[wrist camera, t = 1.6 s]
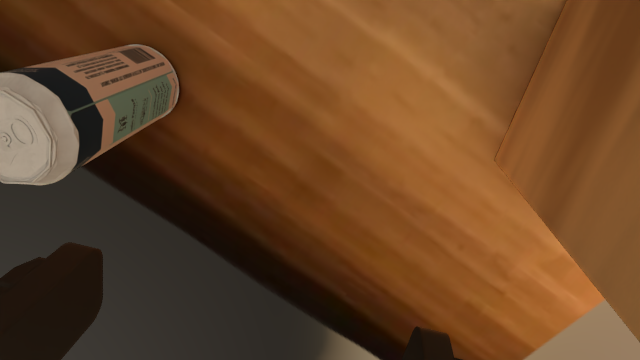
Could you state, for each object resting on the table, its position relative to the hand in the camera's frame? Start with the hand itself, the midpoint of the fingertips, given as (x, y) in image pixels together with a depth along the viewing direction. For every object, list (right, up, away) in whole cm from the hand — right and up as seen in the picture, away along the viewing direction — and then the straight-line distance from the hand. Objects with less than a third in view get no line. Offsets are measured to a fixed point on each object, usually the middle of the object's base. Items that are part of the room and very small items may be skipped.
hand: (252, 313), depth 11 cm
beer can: (-9, +10, +17) cm, 22 cm away
